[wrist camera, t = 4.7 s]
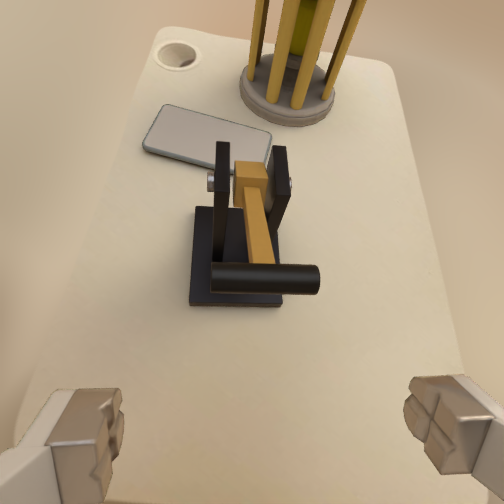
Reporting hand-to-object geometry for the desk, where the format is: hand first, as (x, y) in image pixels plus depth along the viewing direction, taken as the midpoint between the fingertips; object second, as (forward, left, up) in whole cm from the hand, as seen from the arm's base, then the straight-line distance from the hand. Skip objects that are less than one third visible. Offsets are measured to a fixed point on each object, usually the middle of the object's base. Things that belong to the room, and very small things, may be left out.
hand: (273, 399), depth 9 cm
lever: (+8, +5, -7) cm, 12 cm away
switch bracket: (+12, +8, -20) cm, 25 cm away
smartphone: (+23, +20, -20) cm, 36 cm away
